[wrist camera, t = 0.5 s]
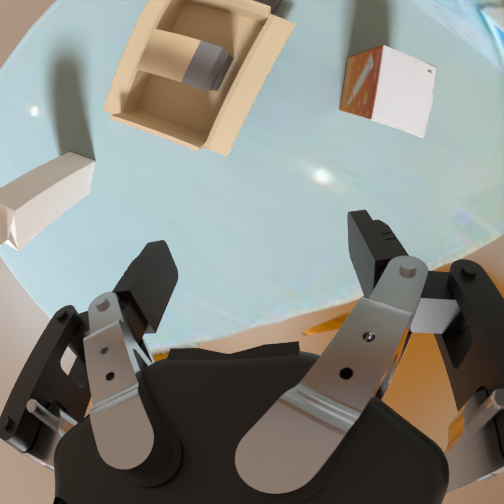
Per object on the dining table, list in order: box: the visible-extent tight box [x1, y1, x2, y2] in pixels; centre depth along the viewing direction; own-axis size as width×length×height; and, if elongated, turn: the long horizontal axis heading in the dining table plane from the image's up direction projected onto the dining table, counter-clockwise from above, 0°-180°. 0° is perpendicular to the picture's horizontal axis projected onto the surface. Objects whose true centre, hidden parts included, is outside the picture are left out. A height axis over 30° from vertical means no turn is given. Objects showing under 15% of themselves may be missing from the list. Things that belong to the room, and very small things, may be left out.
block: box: [136, 29, 234, 91], centre depth 25 cm, size 5×8×9 cm, turn 65°
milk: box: [0, 152, 95, 251], centre depth 29 cm, size 6×6×22 cm
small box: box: [340, 45, 437, 138], centre depth 24 cm, size 8×6×13 cm
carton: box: [103, 0, 296, 156], centre depth 26 cm, size 19×18×8 cm
